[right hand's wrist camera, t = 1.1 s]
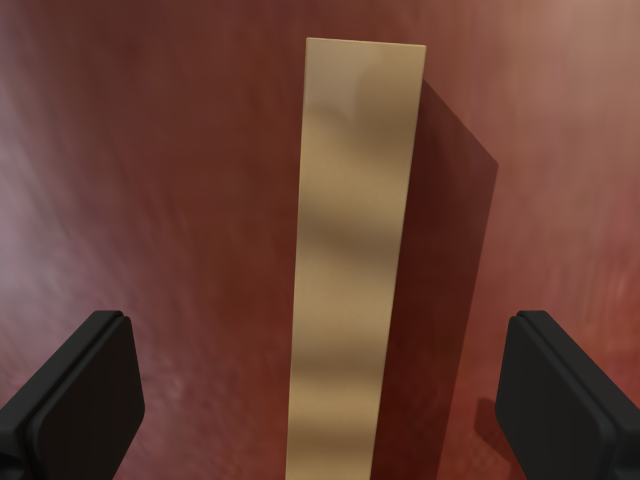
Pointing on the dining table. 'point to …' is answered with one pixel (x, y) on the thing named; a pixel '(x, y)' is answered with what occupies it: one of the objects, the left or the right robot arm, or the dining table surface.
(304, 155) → the post
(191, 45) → the dining table surface
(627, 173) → the dining table surface
